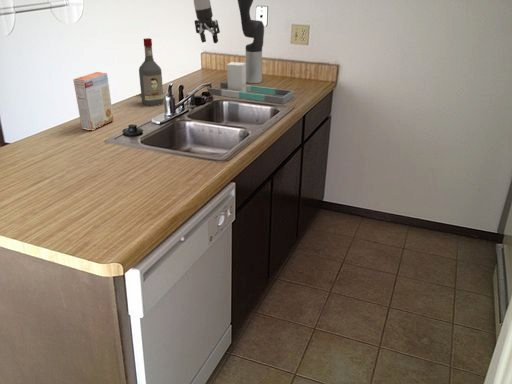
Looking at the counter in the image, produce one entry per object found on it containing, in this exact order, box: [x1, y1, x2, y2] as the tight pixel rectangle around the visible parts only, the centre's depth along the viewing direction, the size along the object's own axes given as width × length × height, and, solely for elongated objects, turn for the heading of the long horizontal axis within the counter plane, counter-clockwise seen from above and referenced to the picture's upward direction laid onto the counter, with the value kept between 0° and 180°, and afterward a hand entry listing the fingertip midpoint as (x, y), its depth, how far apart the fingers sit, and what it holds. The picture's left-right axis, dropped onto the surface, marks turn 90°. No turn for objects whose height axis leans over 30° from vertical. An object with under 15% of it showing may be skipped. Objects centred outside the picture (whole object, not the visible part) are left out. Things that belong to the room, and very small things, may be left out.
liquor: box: [138, 37, 165, 106], centre depth 222 cm, size 9×9×30 cm
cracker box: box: [73, 71, 114, 129], centre depth 193 cm, size 14×6×21 cm, turn 157°
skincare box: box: [226, 61, 247, 93], centre depth 244 cm, size 8×7×16 cm
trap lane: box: [207, 81, 295, 105], centre depth 244 cm, size 15×42×3 cm, turn 66°
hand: (209, 42), depth 228 cm, fingers open, 8 cm apart
